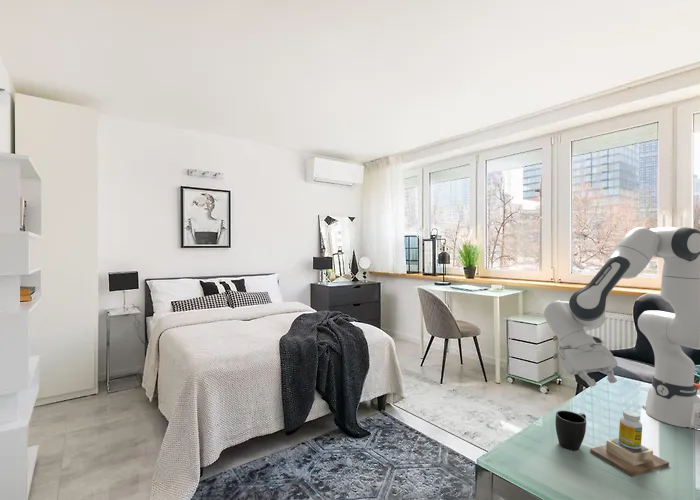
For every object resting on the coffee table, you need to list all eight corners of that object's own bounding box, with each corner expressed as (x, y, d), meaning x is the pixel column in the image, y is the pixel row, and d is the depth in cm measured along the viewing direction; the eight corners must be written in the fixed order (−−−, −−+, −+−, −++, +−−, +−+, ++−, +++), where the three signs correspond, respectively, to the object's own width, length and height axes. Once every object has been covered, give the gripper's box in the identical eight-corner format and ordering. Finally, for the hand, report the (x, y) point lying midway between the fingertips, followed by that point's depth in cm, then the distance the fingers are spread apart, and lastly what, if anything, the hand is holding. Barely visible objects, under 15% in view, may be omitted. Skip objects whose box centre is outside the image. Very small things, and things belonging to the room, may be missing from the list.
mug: (596, 446, 116) (598, 417, 116) (574, 456, 111) (576, 425, 110) (570, 433, 124) (572, 406, 123) (548, 442, 118) (550, 413, 117)
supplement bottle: (622, 437, 114) (624, 407, 114) (643, 446, 110) (646, 414, 109) (615, 442, 111) (617, 411, 111) (636, 451, 107) (638, 419, 106)
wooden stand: (625, 443, 119) (626, 430, 119) (668, 465, 108) (669, 451, 107) (590, 451, 113) (591, 438, 113) (631, 476, 102) (632, 461, 102)
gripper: (561, 342, 121) (587, 383, 112) (604, 338, 128) (632, 376, 119) (548, 351, 125) (573, 391, 116) (591, 347, 132) (617, 384, 124)
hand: (603, 384), depth 118 cm, fingers open, 8 cm apart
